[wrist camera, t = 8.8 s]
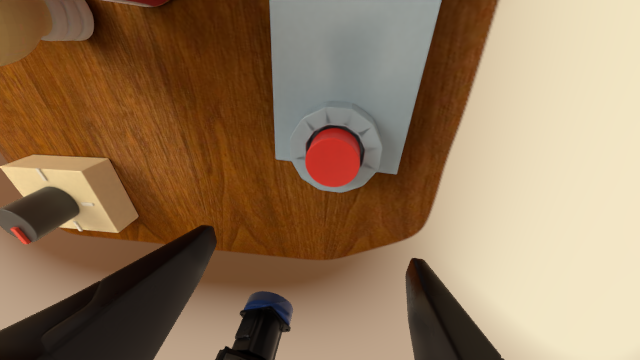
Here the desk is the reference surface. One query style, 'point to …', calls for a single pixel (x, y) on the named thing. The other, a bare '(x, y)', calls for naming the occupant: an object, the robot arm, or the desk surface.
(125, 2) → the soda can
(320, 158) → the red push button
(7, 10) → the light bulb
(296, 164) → the button box
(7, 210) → the dial knob
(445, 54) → the desk surface
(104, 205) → the dial panel
